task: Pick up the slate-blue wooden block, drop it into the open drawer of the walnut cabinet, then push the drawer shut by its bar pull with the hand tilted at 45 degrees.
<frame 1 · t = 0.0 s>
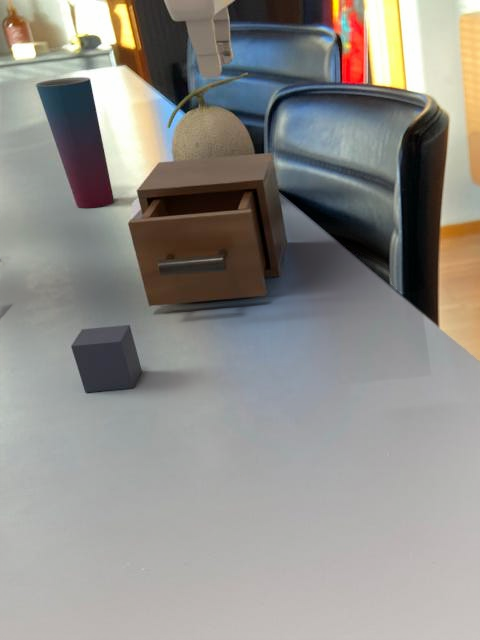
hand: (218, 70, 93), 20 cm above the table, tool pointing down, fingers open, 8 cm apart
fruit: (221, 204, 137), on the table
drawer: (204, 248, 100), point 5 cm above the table, slide at 8.0 cm
block: (114, 381, 86), on the table
cup: (96, 205, 141), on the table
wedge on round base: (176, 233, 125), on the table
cabinet: (226, 263, 113), on the table
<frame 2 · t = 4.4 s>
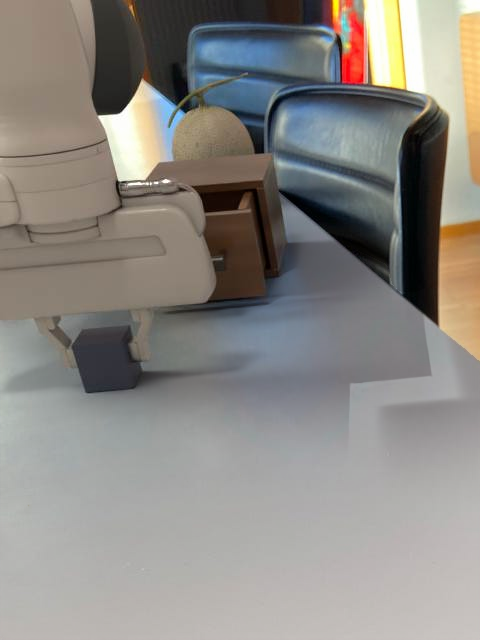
hand: (108, 363, 85), 2 cm above the table, tool pointing down, fingers closed on block, 4 cm apart
block: (114, 381, 86), on the table, touching gripper
everything else where it was.
when the fingers open (9 cm above the table, at t = 10.7 s): block drops 5 cm, resting on drawer.
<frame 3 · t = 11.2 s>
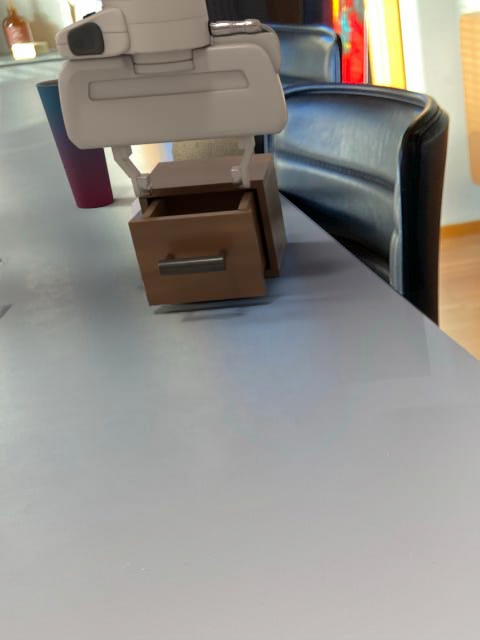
hand: (193, 191, 99), 10 cm above the table, tool pointing down, fingers open, 8 cm apart
drawer: (204, 248, 100), point 5 cm above the table, slide at 8.0 cm, touching block
block: (212, 272, 103), point 2 cm above the table, touching drawer
everything else where it was.
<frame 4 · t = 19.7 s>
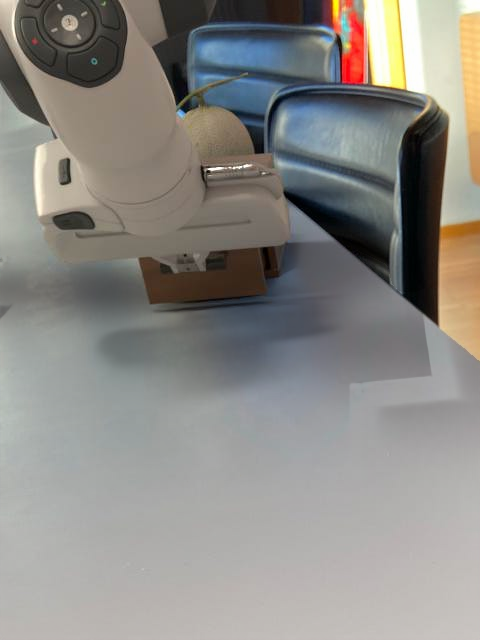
hand: (190, 265, 94), 5 cm above the table, tool tilted 45°, fingers closed, pressing on drawer
drawer: (204, 246, 101), point 5 cm above the table, slide at 7.5 cm, touching block, gripper
everything else where it was.
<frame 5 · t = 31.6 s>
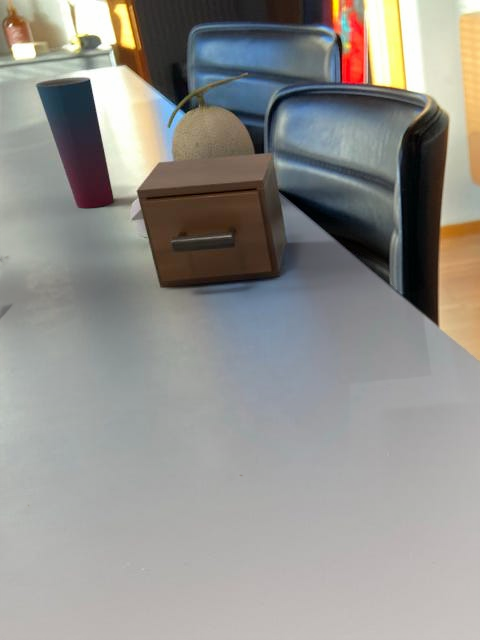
drawer: (213, 227, 107), point 5 cm above the table, slide at 0.0 cm, touching block
block: (221, 251, 110), point 2 cm above the table, touching drawer
everything else where it was.
at the end: block inside the target area in the cabinet (1.4 cm from its centre), point 2.0 cm above the cabinet's base; drawer slide at 0.0 cm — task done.
